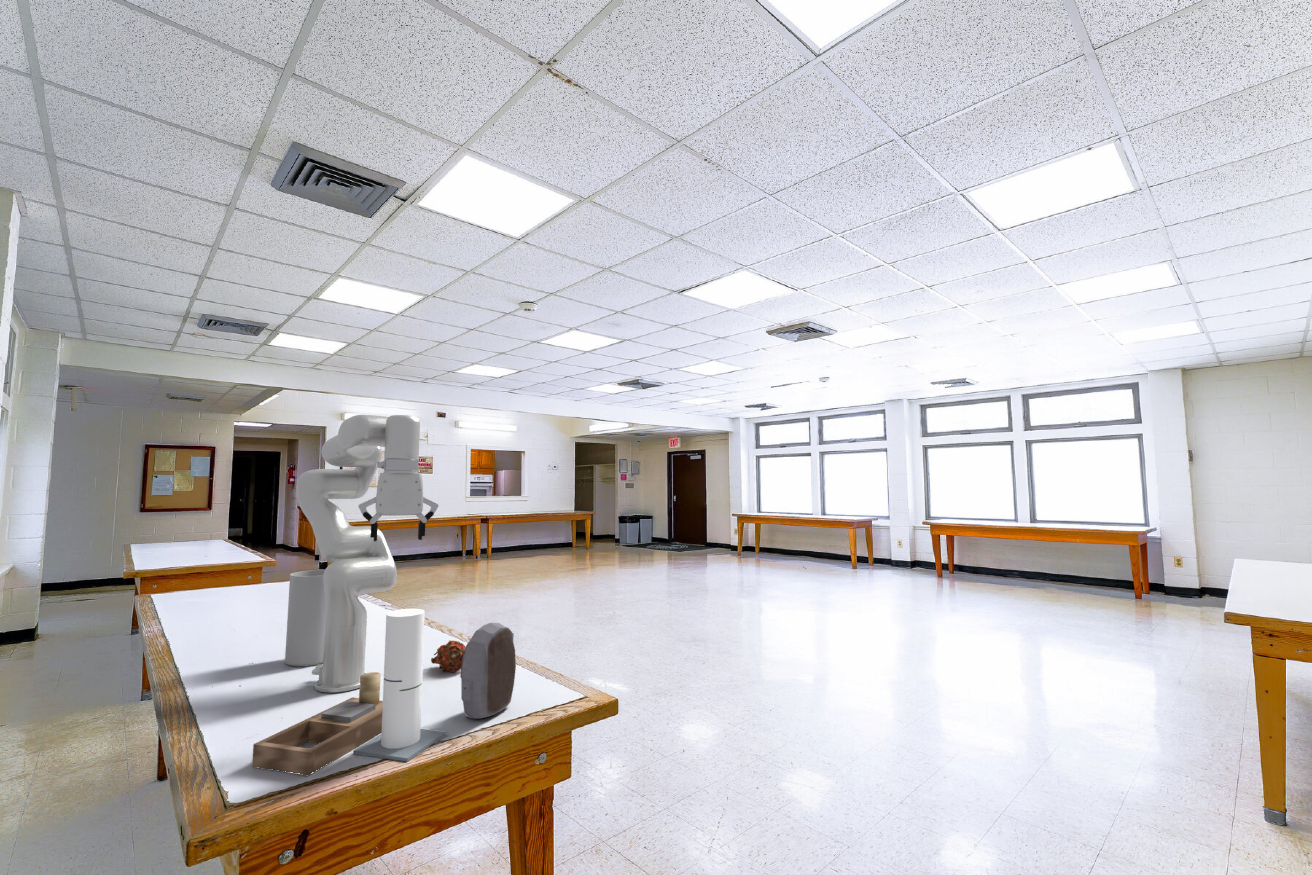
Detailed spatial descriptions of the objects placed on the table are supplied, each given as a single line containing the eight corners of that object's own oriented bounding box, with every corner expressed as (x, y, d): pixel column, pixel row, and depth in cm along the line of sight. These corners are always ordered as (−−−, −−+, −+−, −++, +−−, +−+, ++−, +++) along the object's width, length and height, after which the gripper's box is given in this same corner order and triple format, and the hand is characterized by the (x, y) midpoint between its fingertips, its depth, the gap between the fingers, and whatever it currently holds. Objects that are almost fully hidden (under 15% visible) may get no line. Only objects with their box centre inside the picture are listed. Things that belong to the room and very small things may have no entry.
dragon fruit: (460, 681, 156) (437, 678, 164) (482, 656, 163) (459, 654, 170) (442, 659, 154) (420, 656, 161) (465, 634, 160) (442, 633, 167)
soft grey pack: (479, 727, 124) (482, 631, 125) (447, 721, 127) (451, 627, 128) (519, 702, 138) (522, 616, 139) (490, 698, 141) (492, 613, 142)
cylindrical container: (389, 733, 119) (393, 608, 121) (424, 732, 120) (429, 608, 122) (375, 749, 112) (380, 616, 114) (413, 747, 113) (418, 616, 114)
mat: (353, 753, 111) (353, 750, 111) (395, 728, 123) (395, 725, 123) (407, 761, 108) (407, 758, 108) (445, 734, 120) (445, 731, 120)
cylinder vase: (318, 667, 162) (323, 576, 164) (274, 667, 162) (280, 576, 164) (343, 654, 174) (348, 570, 176) (302, 653, 174) (307, 569, 176)
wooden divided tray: (252, 766, 106) (255, 710, 106) (351, 715, 129) (353, 669, 130) (308, 775, 103) (311, 717, 103) (399, 721, 126) (401, 674, 127)
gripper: (360, 466, 131) (356, 542, 130) (441, 467, 138) (438, 540, 137) (360, 466, 138) (356, 539, 136) (438, 468, 145) (435, 537, 144)
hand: (397, 540), depth 137 cm, fingers open, 9 cm apart
